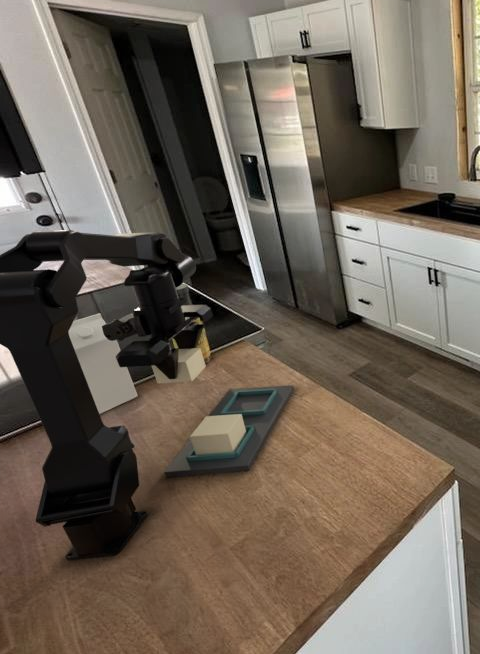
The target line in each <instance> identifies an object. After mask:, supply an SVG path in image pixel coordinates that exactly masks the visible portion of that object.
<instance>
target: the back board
mask: <svg viewBox="0 0 480 654" xmlns="http://www.w3.org/2000/svg"><path fill="white" fill-rule="evenodd" d="M294 391H295V386H294V384H291V385H289V384H288V385H274V386H258V387H243V388H242V387H241V388H229V389H228V390H227V392H226V393H225V395H224V396H223V397H222V398H221V400H220V401H219V402H218V403H217V405H216V406H215V407H214V408H213V410H212V411H211V412H210V413H209V415H208V416H219V415H233V414H242V418H243V422H244V425H245V429H246V435H245V436H244V438H243V440H242V441H241V443H240V444H239V446H238V447H237V449H236V451H235V452H234V453H221V454H209V455H196V453H195V450H194V447H193V444H192V441H191V438H189V440H188V441H187V442H186V444H184V446H183V447H182V449H181V450H180V451H179V453H178V454H177V455H176V456H175V457H174V458H173V460H172V461H171V463H170V464H169V465H168V467H167V468H166V469H165V471H164V472H163V473H164V477H165V478H175V477H177V478H178V477H189V476H199V475H200V476H201V475H212V474H223V473H236V472H247V471H250V470H251V468H252V466H253V464H254V463H255V461H256V459H257V457H258V456H259V454H260V452H261V451H262V449H263V446H264V445H265V443H266V441H267V439H268V438H269V436H270V435H271V432H272V430H273V429H274V427H275V426H276V424H277V421H278V420H279V418H280V417H281V415H282V412H283V411H284V409H285V407H286V405H287V404H288V402H289V400H290V398H291V396H292V395H293V393H294Z"/></svg>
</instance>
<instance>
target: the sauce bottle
mask: <svg viewBox="0 0 480 654" xmlns="http://www.w3.org/2000/svg"><path fill="white" fill-rule="evenodd" d="M176 290H177V294H178V297H179V298H185V301H186V303H185V304H184V305H194V304H193V302H192V299H191V297H190V293H189V291H190V289H189V285H188V284H187V283H182V284H181V285H180V286H178V287H176ZM182 306H183V305H182ZM194 321H195V322H196V323H197V324H204V322H202V321H200V318H199V317H195V318H194ZM171 341H172V343H173V348H178V346H177V344H176V341H175V340H174V339H173V338H172V339H171ZM197 348H200V349H201V352H202V356H203V359H204V362H205V365H206V364H208V363H209V362H210V360H211V358H212V356H211V349H210V345H209V341H208V337H207V333H206V329H205V327H204V328H203V330H202V333H201V336H200V339H199V342H198V345H197Z"/></svg>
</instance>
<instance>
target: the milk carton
mask: <svg viewBox="0 0 480 654" xmlns="http://www.w3.org/2000/svg"><path fill="white" fill-rule="evenodd" d="M106 323H107V322H106V321H105V320H104V318H103V317H102V314H101V313H95V314H93V315H89V316H86V317H82V318H80V319H75V320H74V321H73V323H72V325H71V327H70V329H69V332H68V333H69V337H70V339H71V342H72V344H73V347H74V350H75V352H76V355H77V357H78V360H79V363H80V365H81V368H82V370H83V373H84V376H85V378H86V381H87V383H88V386H89V389H90V391H91V394H92V396H93V399H94V402H95V404H96V407H97V409H98V412H99V414H100V415H101V414H103V413H105V412H107V411H109V410H111V409H114V408H115V407H118V406H120V405H122V404H124V403H126V402H129V401H132V400H133V399H135V398H137V397H138V396H139V395H138V392H137V390H136V387H135V385H134V381H133V380H132V377H131V374H130V372H129V369H128V367H120V366H119V365H118V362H117V359H116V357H115V356H116V355H117V354H118V353H119V352H120V351H121V350H122V349H121V348H120V345H119V341H118V340H114V341H110V340H108V339H107V338H106V337H105V335H104V334H103V329H102V326H103V325H105V324H106Z"/></svg>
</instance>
